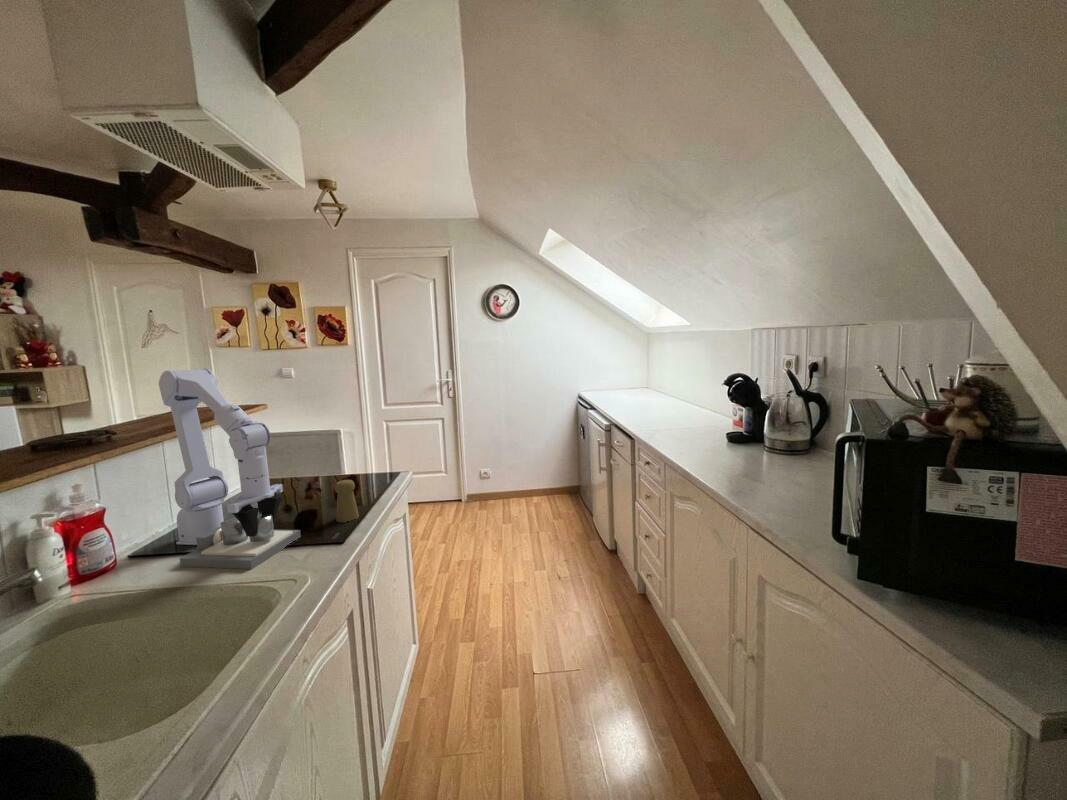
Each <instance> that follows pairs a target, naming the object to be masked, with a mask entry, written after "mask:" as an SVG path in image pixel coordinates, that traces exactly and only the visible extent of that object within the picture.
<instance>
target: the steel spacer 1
mask: <svg viewBox="0 0 1067 800" xmlns="http://www.w3.org/2000/svg"><path fill="white" fill-rule="evenodd" d="M221 531H222V539H223V545H235V544H239V543H242V542H244V541H246V540H247V539H248V536H247V535H246V533H245V531H244V529H243V527H242V525H241V523H240V522H239V520H238V519H237V518H236V517H235V516H234V517H232V518H231V517H230V518H228V519H224V521H223V522H221Z"/></svg>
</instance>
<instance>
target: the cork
mask: <svg viewBox="0 0 1067 800" xmlns="http://www.w3.org/2000/svg"><path fill="white" fill-rule="evenodd" d="M355 487H356V486H355V482H354V480H352V479H343V480H339V481H337V482H336V483H335V485H334V491H335V493H337V496H336V497H337V498H336V518H335V520H336V522H338V523H348V522H347V521H349V522H352V521H351V520H353V521H355V520H354V519H356V520H357V519H359V517H360V514H359V509H358V507H357V501H356V498H355V494H354V490H355V489H356V488H355Z"/></svg>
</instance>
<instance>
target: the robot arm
mask: <svg viewBox="0 0 1067 800" xmlns="http://www.w3.org/2000/svg"><path fill="white" fill-rule="evenodd" d="M217 381H218V380H217V376H216V375H215V373H214V372H213V371H212V370H211V369H209V368H203V369H202V368H201V369H186V370H184V369H183V370H164V371H163V372H162V374H161V375H160V377H159V380H158V387H159V392H160V396H161V399H162V402H163V405H164V406H166V407H170V411H171V414H172V415H171V416H172V419H173V423H174V424H173V425H174V428H175V433H176V436H177V440H178V444H179V448H180V452H181V457H182V461H183V465H184V470H185V471H184V472H182V474H181V475H180V476H179V477H177V479H175V481H174V499H175V502H176V504H177V507H179V508H180V510H179V511H178V512H177V515H176V526H177V534H178V541H177V542H175V543H176V544H175V545H189V546H190V545H191V546H197V541H196V538H197V537H199V536H201V535H203V534H205V533H207V532H209V531H211V530H213V529H216V528H218V527H220V526H221V522H223V521H225V519H224V513H223V506H222V505H223V503H224V502H225V499H226V498H227V496H228V494H229V492H230V491H229V489H230V487H229V484H228V482H227V480H226V479H225V477H224V474H223V471H222V470H220V469H218V468H215V467H213V466H211V464H210V460H209V459H210V458H209V456H208V451H207V447H206V442H205V439H204V434H203V430H202V425H201V422H200V418H199V412H198V409H197V408H198V406H199V404H200V403H203V404H204V405H205V406H207V407H208V408H209V409H210V410H211V411H212V412H214V415H213V420H214V421H215V422H216V423H217V425H218V426H220V428H221V429H222V430H223V431H224V432H225V433H226V434H227V435H228V436H229V439H228V444H229V445H230V448H231V449H232V452H233V457H234V458H235V459H236V460H237V467H238V475H239V482H240V483H239V484H240V490H241V491H240V493H241V496H239V497H237V498H236V499H235V500H233V501H231V502H230V503H227V504H226V507H227V514H232V515H233V516H234V518H235V517H236V518H237V519H238V520H239V522H240V523H241V525H242V527H243V529H244V531H245V533H246V535H247V536H249V537H254V536H256V535H257V516H258V514H259V511H260V513H261V514H262V513H270V514H272V519H273V527H274V526H275V524H276V516H277V512H278V509H279V506H280V504H281V502H282V500H283V495H281V494H280V493H283V492H284V489H283V487H284V486H283V484H282V483H275V484H272V485H271V483H270V476H269V475H270V474H269V472H270V471H269V465H268V457H267V456H268V455H267V448H266V447H267V446H268V445H269V444H270V443H271V432H270V429H269V428H268V426H267V425H266V424H265V423H263V422H258V421H257V420H256V421H254V420H252V419H251V417H250V416H249V415H248V414H247V413H246V412H245V411H244V410H243V409H242V408H241V407H240V406H239V405H238V404H235V403H230V402H229V401H228V400H227V398H226V397H225V396H224V395H223V393H222V392H221V390H220V389H219V388H218V383H217ZM206 478H207V479H206ZM256 503H257V504H258V507H253V504H256Z"/></svg>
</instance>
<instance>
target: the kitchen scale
mask: <svg viewBox="0 0 1067 800" xmlns="http://www.w3.org/2000/svg"><path fill="white" fill-rule="evenodd" d="M300 537H301V538H302V535H301V529H274V536H273V537H272V538H270V539H267V540H264V541H260V542H251V541H250V539H249V536H248V539H247V540H246V541H244V542H242V543H239V544H235V545H223V539H222V531H221V526H220V527H218V528H216V529H213V530H211V531H209V532H207V533H205V534H203V535H201V536H199V537H197V538H196V541H197V545H196V546H197V549H195V550H193V551H191V552H189V553H187V554H185V555H183V556H180V557H179V564H180V565H179V566H180V567H181V568H182V567H184V568H185V567H187V568H206V567H215V568H214V569H233V568H236V569H237V568H238V569H237V570H253V569H255V568H256V567H258V566H259V565H261V564H262V563H264V562H266V561H267V560H269V559H270V558H271V557H273V556H275V555H276V554H278V553H279V552H281V551H282V550H285V547H286V546H287V545H289V544H290V543H292V542H293V541H295V540H296V541H298V540H299V539H298V538H300ZM301 538H300V539H301ZM297 539H298V540H297ZM296 541H295V542H296ZM293 543H294V542H293ZM293 543H292V544H293ZM290 545H291V544H290ZM290 545H289V546H290ZM287 547H288V546H287ZM287 547H286V548H287Z"/></svg>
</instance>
